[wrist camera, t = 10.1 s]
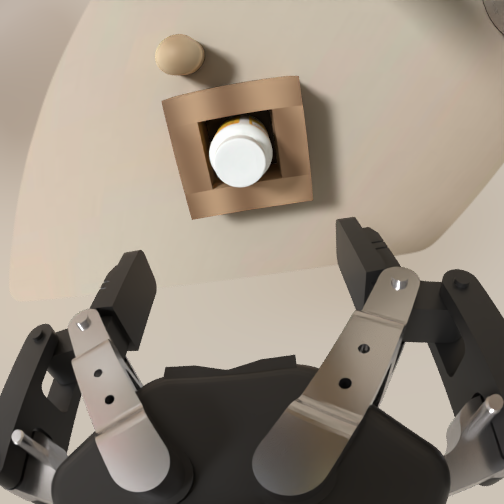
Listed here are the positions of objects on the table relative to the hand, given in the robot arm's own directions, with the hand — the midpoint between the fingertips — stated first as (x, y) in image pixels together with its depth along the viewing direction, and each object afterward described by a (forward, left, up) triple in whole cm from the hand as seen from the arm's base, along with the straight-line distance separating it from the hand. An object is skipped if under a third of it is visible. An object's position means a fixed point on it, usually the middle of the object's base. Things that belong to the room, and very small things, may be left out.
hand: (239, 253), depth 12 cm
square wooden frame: (0, 0, -22) cm, 22 cm away
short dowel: (+4, -10, -22) cm, 24 cm away
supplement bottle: (0, 0, -22) cm, 22 cm away
